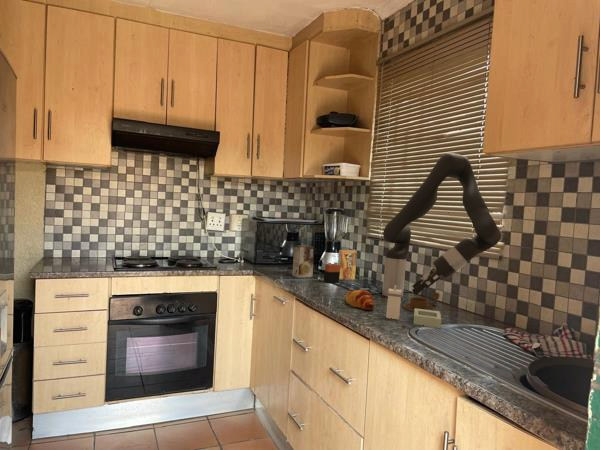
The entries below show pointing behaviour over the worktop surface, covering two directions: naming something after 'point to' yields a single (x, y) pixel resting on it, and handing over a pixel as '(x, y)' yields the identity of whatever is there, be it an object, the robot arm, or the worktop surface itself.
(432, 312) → the green rectangular tray
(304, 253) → the coffee box
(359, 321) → the worktop surface
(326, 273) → the battery
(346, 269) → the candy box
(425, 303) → the place setting
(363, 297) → the croissant
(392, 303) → the block
